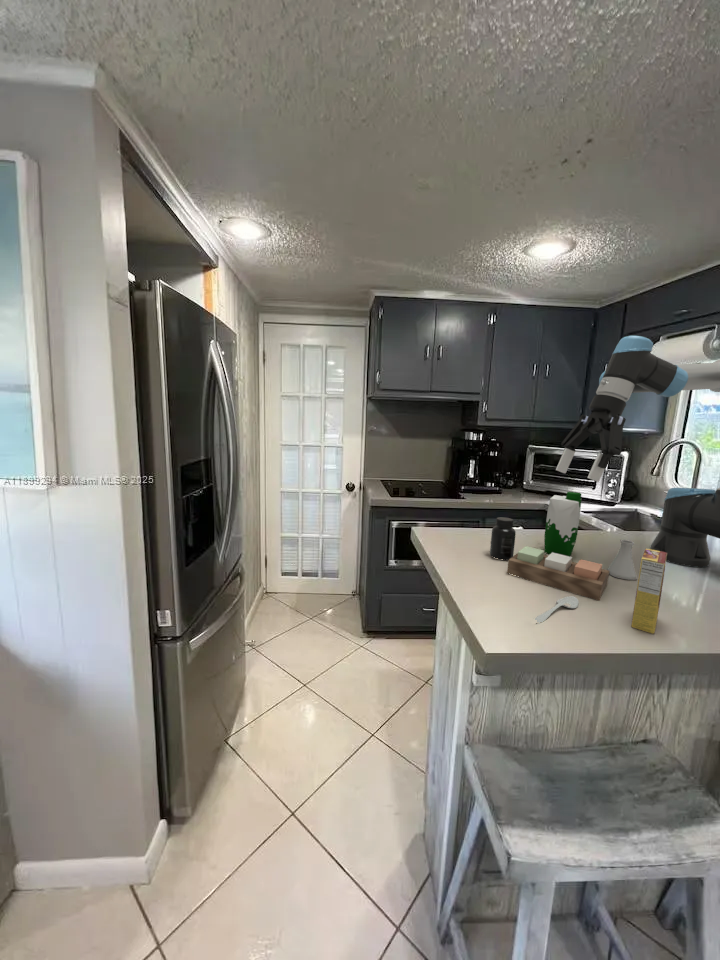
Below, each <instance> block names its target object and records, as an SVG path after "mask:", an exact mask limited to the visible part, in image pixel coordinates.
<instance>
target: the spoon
mask: <svg viewBox="0 0 720 960" xmlns="http://www.w3.org/2000/svg"><path fill="white" fill-rule="evenodd" d="M556 603H557V604H555V606H552V608H549V609H548V610H546V611H545V612H543V613H541V614H538V615H537V616H536V618H535V617H534V618H535V620H537V622H539V624H541V623H540V622H542V623H543V621H544V622H545V621H546V620H548V618H549V617H550V616H551V615H552V614H553V612H555V611H556V610H557V609H559V608H560V607H564V608H568V609H577V607H579V604H580V602H579V599H578V598H577V597H576V596H573V595H570V596H568V595H567V596H564V597H563V598H559V599H557V600H556ZM566 604H568V605H570V606H568V605H566Z"/></svg>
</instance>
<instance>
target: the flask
mask: <svg viewBox="0 0 720 960" xmlns="http://www.w3.org/2000/svg"><path fill="white" fill-rule="evenodd" d="M619 540H620V547H619V549H618V552H617V554H616V556H615V557H614V559H613V560H612V561H611V563H610V564H609V566H608V568H606V570H608V571H609V576H612V577H614V578H617V579H622V580H627V581H628V580H629V581H633V580H637V581H638V578H637V572H636V570H635V565H634V561H633V551H632V549H633V546H634V545H635V542H634V541H632V540H628V539H619Z"/></svg>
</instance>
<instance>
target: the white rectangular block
mask: <svg viewBox="0 0 720 960" xmlns="http://www.w3.org/2000/svg"><path fill="white" fill-rule="evenodd" d="M572 562H573V557H572V556H570V557H569V556H565V555H561V554H557V553H553V552H552V553H551V554H548V557H547V558H546V559H545V565H544V567H548V568H552V569H555V570H559V571H563V572H567V571H568V569H569V568H570V567H571V563H572Z"/></svg>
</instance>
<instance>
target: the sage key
mask: <svg viewBox="0 0 720 960" xmlns="http://www.w3.org/2000/svg"><path fill="white" fill-rule="evenodd" d="M517 553H518V557H517V559H518V560H521V561H525V562H529V563H533V564H538V563H540V562H541V561H542V560H543V558H544V555H545V553H544V550H543V549H540V548H535V547H531V546H527V545H526V546H524V547H523V548H521V549H520V550H518V552H517Z"/></svg>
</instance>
